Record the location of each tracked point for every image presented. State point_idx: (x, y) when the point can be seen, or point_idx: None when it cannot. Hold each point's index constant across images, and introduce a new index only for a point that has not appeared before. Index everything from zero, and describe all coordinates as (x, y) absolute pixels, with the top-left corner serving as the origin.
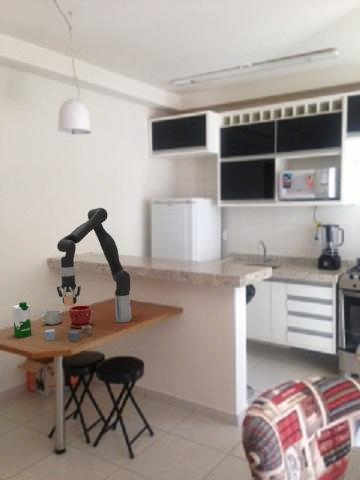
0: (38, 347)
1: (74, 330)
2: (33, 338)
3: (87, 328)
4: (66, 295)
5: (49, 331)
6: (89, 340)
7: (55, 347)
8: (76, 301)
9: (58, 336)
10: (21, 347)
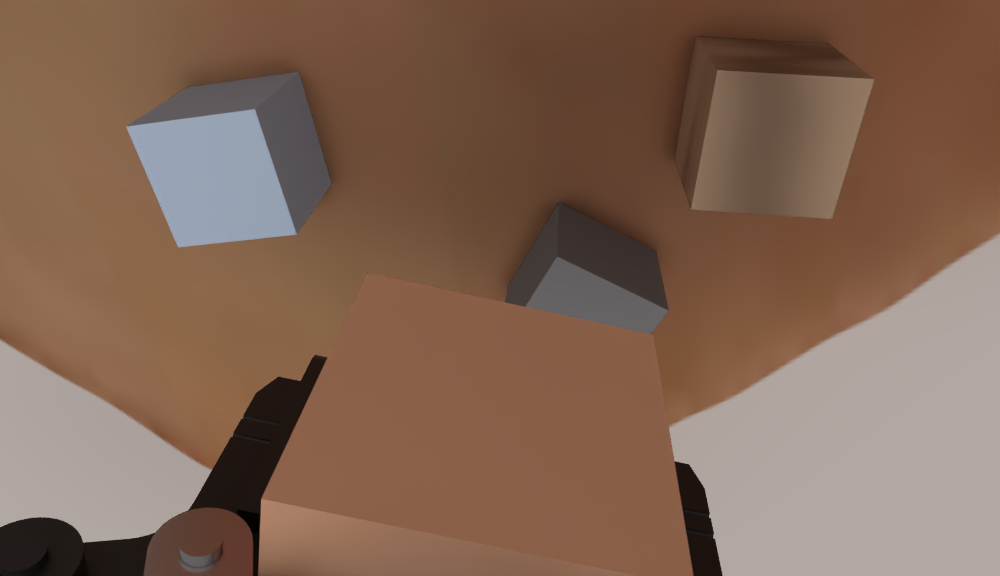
0: (221, 373)
1: (579, 276)
2: (11, 47)
3: (779, 211)
4: (286, 563)
5: (219, 221)
6: (749, 321)
7: None
8: (697, 502)
9: (340, 53)
10: (41, 329)
